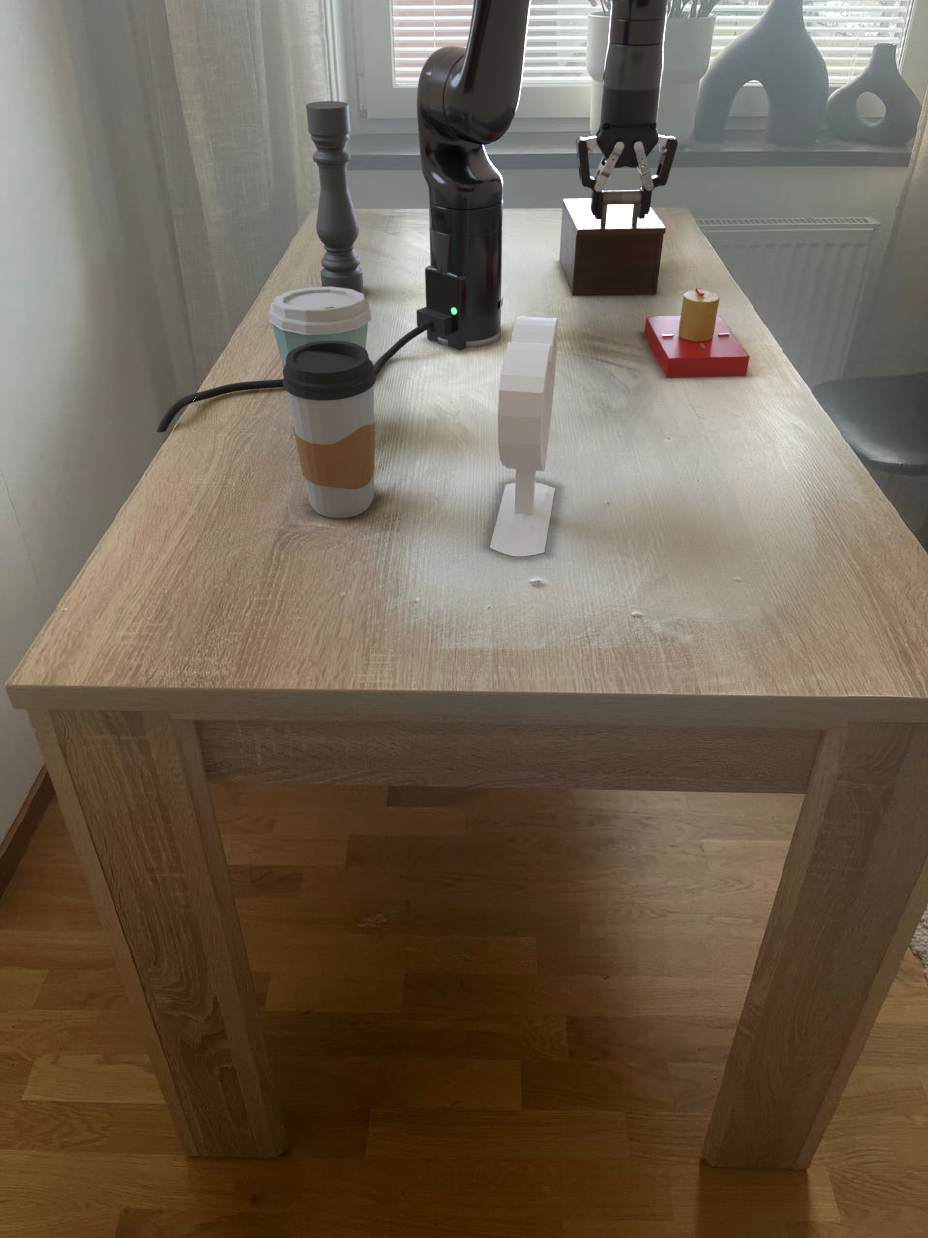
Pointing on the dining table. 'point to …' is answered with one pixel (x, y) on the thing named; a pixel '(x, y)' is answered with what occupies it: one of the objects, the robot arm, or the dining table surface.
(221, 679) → the dining table surface
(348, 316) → the disposable coffee cup
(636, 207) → the box lid
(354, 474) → the coffee cup
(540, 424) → the heart sculpture
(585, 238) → the dark wooden box
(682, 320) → the valve knob
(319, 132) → the candle holder
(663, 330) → the panel
